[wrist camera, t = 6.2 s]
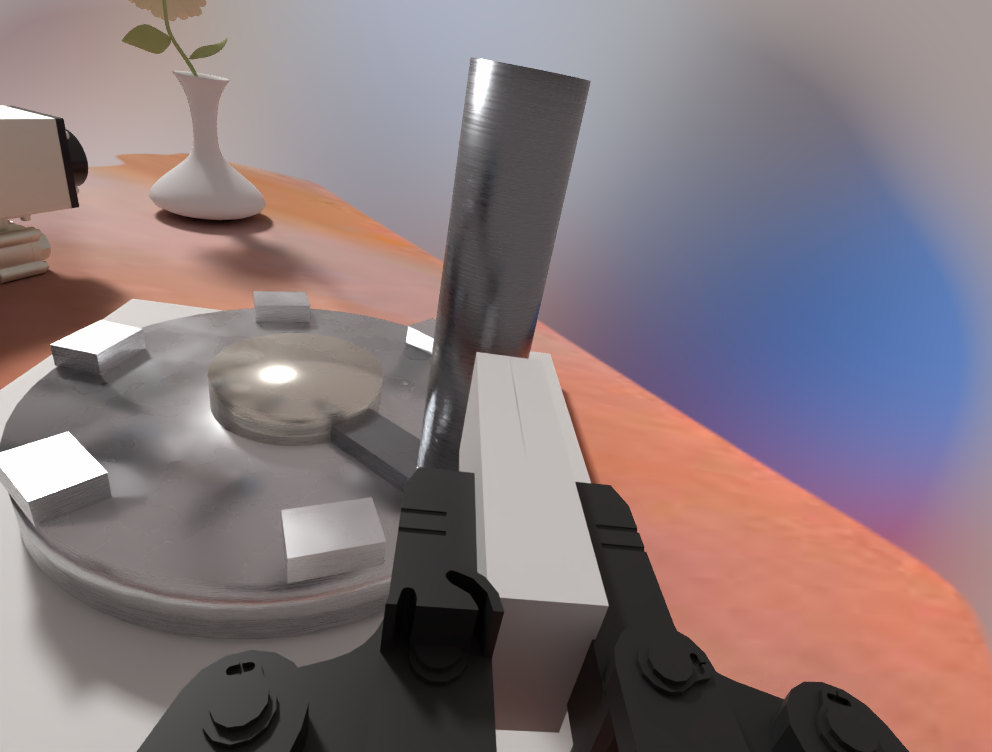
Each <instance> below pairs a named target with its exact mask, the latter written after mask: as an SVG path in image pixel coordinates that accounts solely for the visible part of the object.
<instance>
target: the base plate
mask: <svg viewBox="0 0 992 752" xmlns="http://www.w3.org/2000/svg"><path fill="white" fill-rule="evenodd" d="M219 311H222V310H214V309H207V308H199V307H192V306H184V305H177V304H169V303H161V302H154V301H146V300H139V299H131V300H130V301H129V302H127V303H126V304H124V305H123V306H121V307H120V308H118V309H117V310H116V311H114V312H113V313H111V314H110V315H108V316H107V317H105V318H104V319H103V321H108V322H113V323H118V324H122V325H127V326H132V327H137V328H142V327H145V326H148V325H152V324H156V323H160V322H164V321H168V320H172V319H177V318H182V317H187V316H192V315H197V314H204V313H212V312H219ZM529 359H533V360H541V361H542V362H543V366H544V370H545V373H546V377H547V381H548V384H549V388H550V392H551V395H552V399H553V403H554V406H555V410H556V414H557V417H558V421H559V425H560V428H561V432H562V436H563V439H564V443H565V447H566V451H567V454H568V458H569V462H570V465H571V469H572V473H573V476H574V480H575V482H583V483H591V481H590V478H589V475H588V472H587V469H586V465H585V462H584V459H583V456H582V453H581V450H580V447H579V443H578V440H577V437H576V434H575V431H574V428H573V424H572V421H571V418H570V415H569V412H568V409H567V406H566V402H565V399H564V396H563V393H562V390H561V387H560V384H559V380H558V377H557V374H556V371H555V368H554V365H553V362H552V358H551V355H550V354H547V353H540V352H532V351H530V354H529ZM56 367H57V366H55V363H54V359H53V355H50V356H49V357H48V358H46V359H45V360H43V361H42V362H40V363H39V364H37V365H36V366H35V367H33V368H32V369H30V370H29V371H27V372H26V373H24V374H23V375H21V376H20V377H19V378H17V379H16V380H14V381H13V382H11V383H10V384H8V385H7V386H6V387H4V388H3V389H1V390H0V442H1V438H2V435H3V431H4V428H5V425H6V422H7V420H8V419H9V417H10V415H11V414H12V412H13V410H14V408H15V407H16V405H17V403H18V402H19V401H20V400H21V399H22V398H23V397H24V395H25V394H26V393H27V392H28V391H29V390H30V389H31V387H32V386H33V385H35V384H36V383H37V382H38V381H39V380H41V379H42V378H43V377H44V376H45V375H47V374H48V373H49V372H50V371H51V370H53V369H54V368H56ZM383 619H384V614H381V615H378V616H375V617H372V618H368V619H365V620H362V621H359V622H356V623H353V624H350V625H347V626H342V627H338V628H333V629H328V630H324V631H319V632H314V633H310V634H304V635H295V636H286V637H276V638H267V639H210V638H202V637H193V636H185V635H176V634H169V633H165V632H161V631H157V630H153V629H149V628H145V627H141V626H137V625H133V624H129V623H126V622H124V621H121V620H119V619H117V618H114V617H112V616H109V615H107V614H104V613H102V612H99V611H97V610H94V609H92V608H91V607H89V606H87V605H86V604H84V603H82V602H81V601H79V600H78V599H76V598H74V597H73V596H71V595H69V594H68V593H66V592H65V591H63V590H62V589H61V588H60V587H59V586H58V585H57V584H56V583H54V582H53V581H52V580H51V579H50V578H49V577H48V576H47V575H46V574H45V573H44V572H43V571H42V570H41V569H40V568H39V566H38V565H37V563H36V562H35V560H34V559H33V557H32V556H31V554H30V553H29V551H28V550H27V548H26V546H25V543H24V540H23V537H22V534H21V531H20V528H19V525H18V522H17V519H16V516H15V513H14V509H13V506H12V503H11V500H10V497H9V493H8V491H7V490H6V489H5V487H4V486H3V485H2V483H1V482H0V752H137V750H138V749H139V748H140V746H141V745H142V743H143V742H144V741H145V739H146V738H147V737H148V735H149V734H150V732H151V731H152V730H153V728H154V727H155V726H156V724H157V723H158V721H159V720H160V719H161V717H162V716H163V715H164V713H165V712H166V710H167V709H168V708H169V706H170V705H171V704H172V702H173V701H174V699H175V698H176V697H177V695H178V694H179V693H180V691H181V690H182V689H183V688H184V687H185V686H186V685H187V684H188V683H189V682H190V681H191V680H192V679H193V678H194V677H195V676H196V675H197V674H198V673H199V672H200V671H201V670H202V669H204V668H205V667H207V666H209V665H211V664H212V663H214V662H216V661H218V660H219V659H221V658H223V657H225V656H227V655H231V654H236V653H240V652H244V651H249V650H259V651H269V652H276V653H278V654H280V655H281V656H283V657H285V658H287V659H289V660H291V661H292V662H294V663H295V665H296V666H297V667H302V666H306V665H310V664H314V663H318V662H322V661H326V660H330V659H333V658H336V657H339V656H342V655H344V654H347V653H349V652H351V651H353V650H354V649H356V648H357V647H359V646H361V645H362V644H364V643H365V642H366V641H367V640H368V639H369V638H370V637H371V636H372V635H373V634H374V633H375V632H376V630H377V629H378V627H379V625H380V624H381V622H382V621H383ZM572 746H573V741H572V735H571V728H570V722H569V716H568V711H567V713H566V716H565V718H564V721H563V723H562V726H561V728H560V731H559V733H554V732H532V731H510V730H496V747H497V752H570V751H571V749H572Z"/></svg>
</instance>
